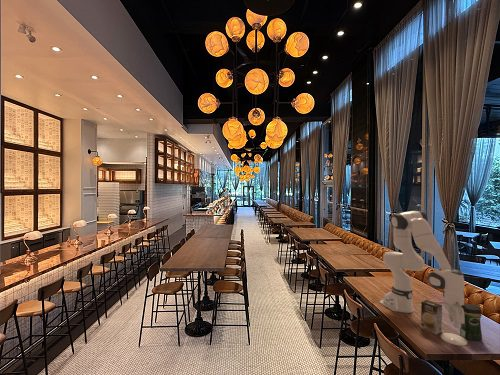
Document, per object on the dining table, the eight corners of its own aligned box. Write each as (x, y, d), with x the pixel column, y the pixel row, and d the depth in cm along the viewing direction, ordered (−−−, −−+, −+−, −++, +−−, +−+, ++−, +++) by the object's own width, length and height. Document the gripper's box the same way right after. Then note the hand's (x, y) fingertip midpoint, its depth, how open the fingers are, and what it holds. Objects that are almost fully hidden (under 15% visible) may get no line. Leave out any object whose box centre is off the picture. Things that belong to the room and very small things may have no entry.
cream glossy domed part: (435, 337, 162) (435, 335, 162) (449, 332, 167) (449, 331, 167) (458, 348, 152) (458, 346, 152) (472, 343, 156) (472, 341, 156)
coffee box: (420, 328, 173) (420, 301, 173) (425, 325, 176) (426, 299, 176) (436, 335, 165) (436, 307, 165) (442, 332, 168) (442, 304, 168)
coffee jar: (476, 334, 166) (476, 302, 166) (484, 342, 158) (484, 308, 158) (457, 333, 168) (457, 301, 167) (464, 340, 160) (464, 306, 160)
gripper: (468, 307, 149) (468, 334, 149) (454, 293, 168) (454, 317, 168) (454, 305, 151) (453, 332, 151) (441, 292, 170) (441, 315, 170)
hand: (453, 324), depth 159 cm, fingers open, 6 cm apart
